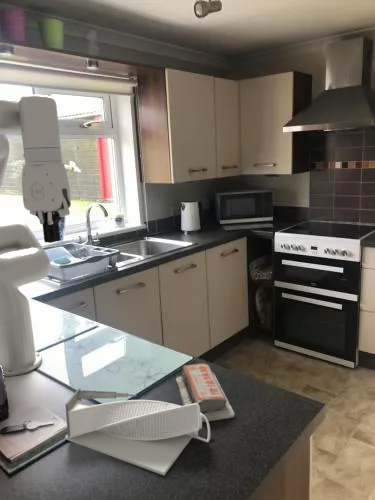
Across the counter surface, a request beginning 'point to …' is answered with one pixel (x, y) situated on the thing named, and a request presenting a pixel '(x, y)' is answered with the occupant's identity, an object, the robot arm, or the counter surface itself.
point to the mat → (136, 449)
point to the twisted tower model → (132, 417)
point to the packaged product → (204, 392)
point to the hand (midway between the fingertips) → (52, 241)
